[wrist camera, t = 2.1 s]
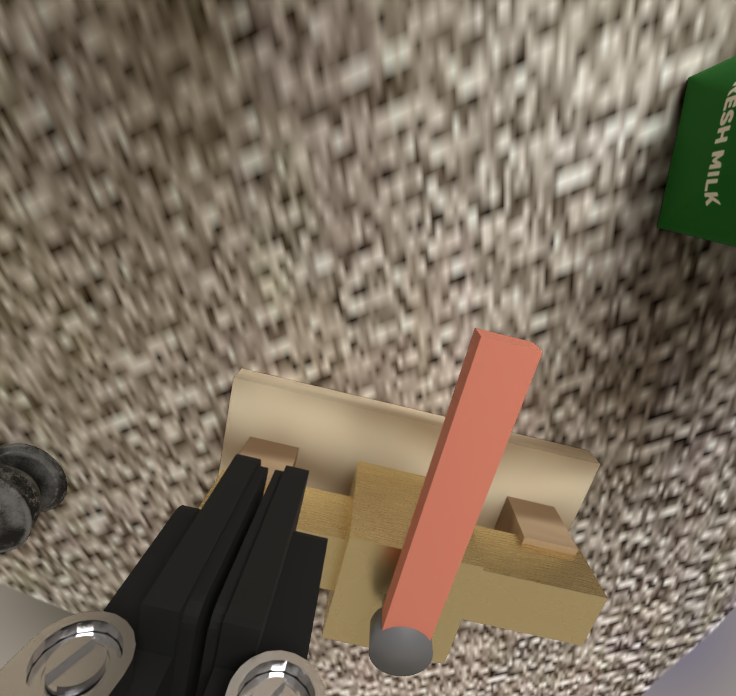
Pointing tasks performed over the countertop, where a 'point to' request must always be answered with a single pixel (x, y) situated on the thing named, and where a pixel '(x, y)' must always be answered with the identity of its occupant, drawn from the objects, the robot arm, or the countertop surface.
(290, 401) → the board
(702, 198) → the milk carton
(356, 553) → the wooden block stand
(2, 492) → the dark grey chess piece
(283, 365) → the countertop surface
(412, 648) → the lever
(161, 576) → the robot arm
